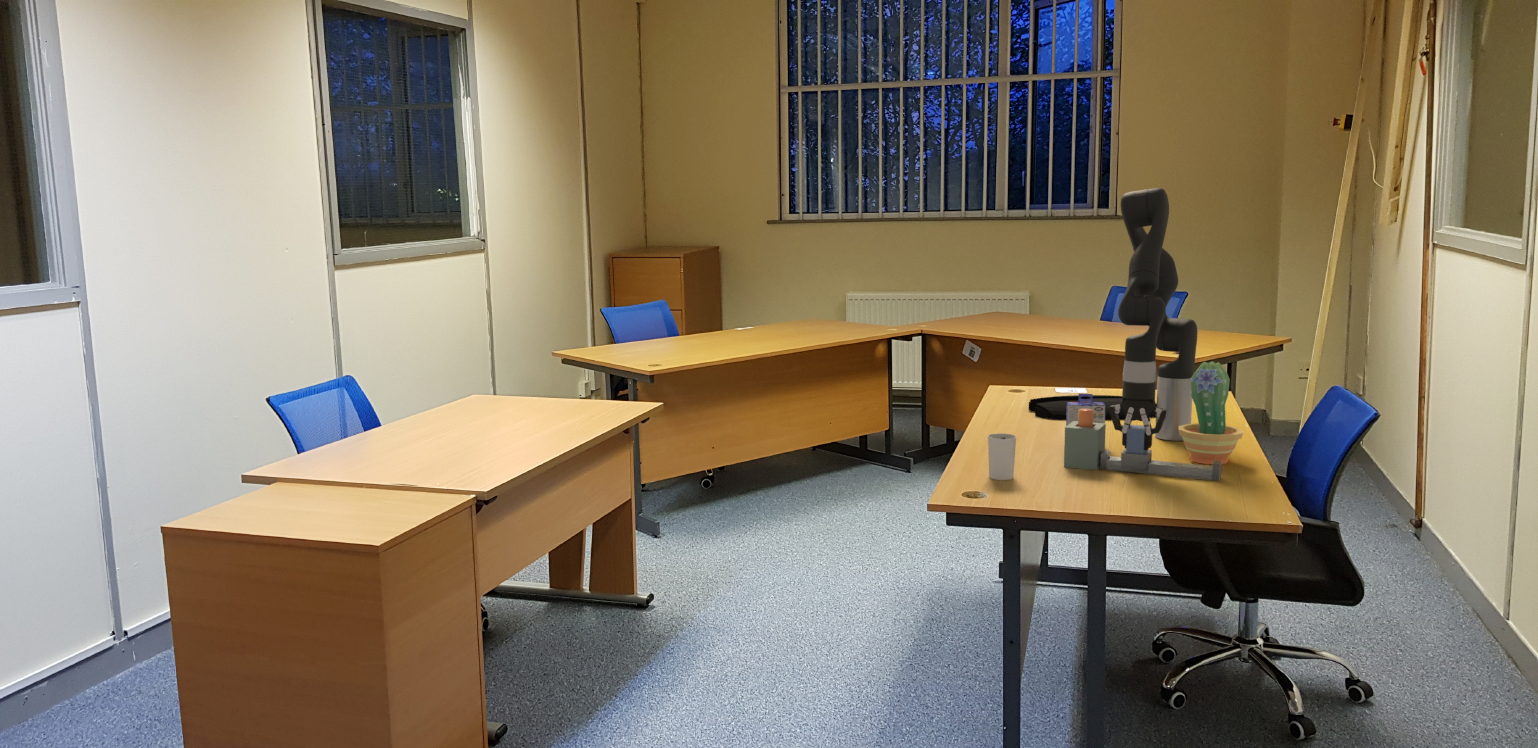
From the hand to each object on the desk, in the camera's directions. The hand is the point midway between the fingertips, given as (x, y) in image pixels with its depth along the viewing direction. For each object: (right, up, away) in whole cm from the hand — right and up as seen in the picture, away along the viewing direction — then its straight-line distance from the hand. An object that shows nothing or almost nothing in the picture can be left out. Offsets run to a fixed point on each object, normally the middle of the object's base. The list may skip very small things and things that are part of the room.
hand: (1136, 448), depth 257 cm
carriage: (0, -5, +1) cm, 6 cm away
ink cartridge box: (-5, -2, +26) cm, 27 cm away
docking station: (+13, +5, +75) cm, 76 cm away
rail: (+5, -6, -2) cm, 8 cm away
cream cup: (-34, -7, -3) cm, 34 cm away
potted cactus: (+22, -4, +10) cm, 25 cm away
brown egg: (-11, +3, +6) cm, 13 cm away
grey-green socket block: (-10, -5, +8) cm, 14 cm away
